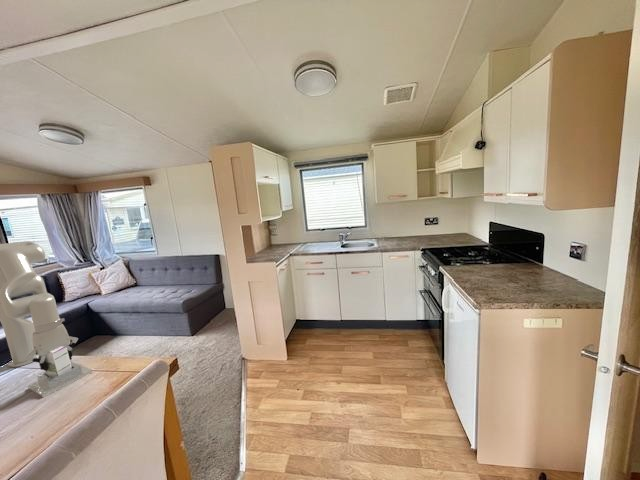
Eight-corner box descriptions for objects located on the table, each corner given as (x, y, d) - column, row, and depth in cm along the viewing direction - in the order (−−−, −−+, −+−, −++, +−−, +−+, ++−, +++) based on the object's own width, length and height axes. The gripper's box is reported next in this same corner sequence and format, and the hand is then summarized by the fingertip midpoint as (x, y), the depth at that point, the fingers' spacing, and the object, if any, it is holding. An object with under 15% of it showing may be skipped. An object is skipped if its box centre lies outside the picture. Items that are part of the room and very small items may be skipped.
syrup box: (74, 373, 113) (67, 343, 111) (59, 383, 107) (51, 351, 105) (62, 373, 113) (55, 343, 111) (47, 383, 108) (39, 351, 105)
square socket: (28, 388, 106) (26, 378, 106) (77, 365, 120) (75, 356, 120) (42, 397, 100) (40, 387, 100) (92, 372, 114) (90, 363, 114)
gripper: (70, 315, 116) (79, 351, 119) (13, 334, 100) (24, 375, 103) (78, 318, 113) (87, 354, 115) (21, 338, 97) (32, 379, 100)
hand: (57, 364), depth 109 cm, fingers closed on syrup box, 7 cm apart
